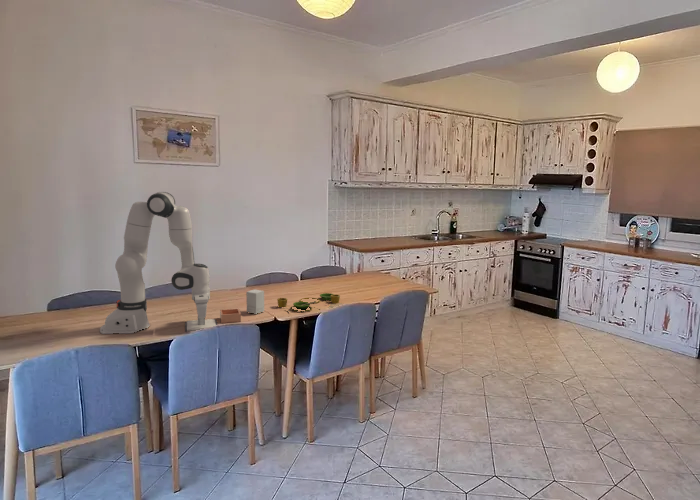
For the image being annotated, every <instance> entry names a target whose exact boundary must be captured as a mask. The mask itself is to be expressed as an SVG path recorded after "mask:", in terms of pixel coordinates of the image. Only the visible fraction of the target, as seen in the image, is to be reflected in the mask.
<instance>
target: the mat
mask: <svg viewBox="0 0 700 500" xmlns="http://www.w3.org/2000/svg"><path fill="white" fill-rule="evenodd" d="M215 323H216V325H218V326H219V324H218V320H217V319H215ZM184 332H188V331H187V321H184ZM190 332H196V330H191V331H190Z"/></svg>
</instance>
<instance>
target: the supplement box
mask: <svg viewBox="0 0 700 500" xmlns="http://www.w3.org/2000/svg"><path fill="white" fill-rule="evenodd" d="M245 295H246V313H247V312H249V313H254V314H257V313H260V312H263V311H264V312H265V291H264V290H261V289H255V288H254V289H251V290H247V291H246V294H245ZM264 312H263V313H264ZM249 313H248V314H249ZM254 314H253V315H254ZM260 314H261V313H260ZM257 315H258V314H257Z"/></svg>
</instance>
